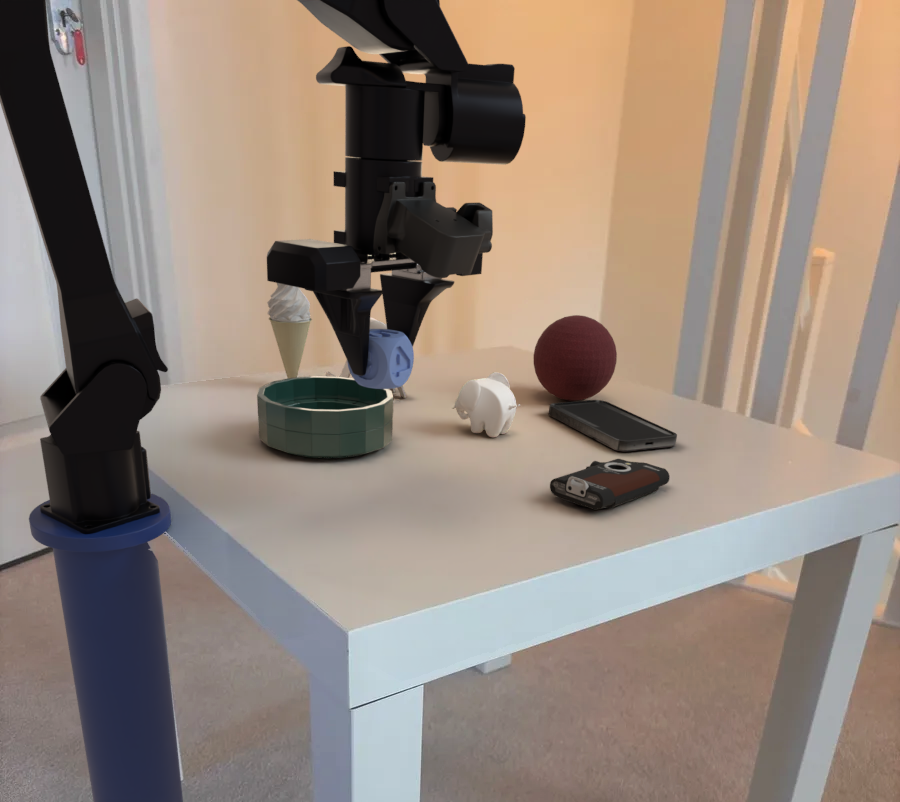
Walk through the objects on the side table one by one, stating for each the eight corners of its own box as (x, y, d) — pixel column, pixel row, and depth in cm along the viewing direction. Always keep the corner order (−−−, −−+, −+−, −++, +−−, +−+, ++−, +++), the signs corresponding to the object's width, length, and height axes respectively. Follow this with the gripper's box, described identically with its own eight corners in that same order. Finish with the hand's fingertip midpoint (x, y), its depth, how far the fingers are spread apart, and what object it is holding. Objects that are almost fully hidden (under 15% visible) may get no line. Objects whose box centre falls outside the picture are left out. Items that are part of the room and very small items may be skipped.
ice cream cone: (266, 383, 112) (260, 253, 105) (306, 380, 114) (303, 253, 107) (277, 393, 107) (272, 259, 101) (318, 391, 110) (316, 259, 103)
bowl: (325, 472, 84) (325, 419, 82) (232, 440, 91) (229, 390, 89) (418, 442, 94) (419, 394, 91) (326, 415, 101) (326, 370, 98)
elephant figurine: (471, 418, 103) (474, 365, 100) (532, 432, 99) (538, 378, 96) (436, 430, 98) (439, 375, 95) (500, 446, 94) (505, 389, 91)
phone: (601, 399, 108) (681, 435, 96) (600, 408, 109) (679, 445, 97) (544, 403, 105) (620, 442, 93) (543, 413, 105) (618, 452, 94)
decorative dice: (413, 382, 76) (415, 333, 74) (388, 392, 73) (389, 340, 71) (373, 374, 77) (373, 326, 76) (346, 383, 74) (346, 333, 72)
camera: (543, 470, 80) (613, 448, 88) (542, 500, 81) (611, 476, 89) (603, 483, 76) (672, 460, 84) (601, 515, 77) (668, 489, 85)
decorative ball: (603, 415, 107) (615, 327, 102) (521, 403, 109) (528, 318, 105) (616, 395, 115) (627, 313, 111) (539, 385, 118) (547, 305, 113)
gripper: (374, 164, 56) (370, 412, 64) (544, 168, 70) (525, 373, 77) (257, 154, 63) (266, 380, 70) (434, 159, 76) (426, 349, 83)
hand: (379, 370), depth 75 cm, fingers closed on decorative dice, 4 cm apart
